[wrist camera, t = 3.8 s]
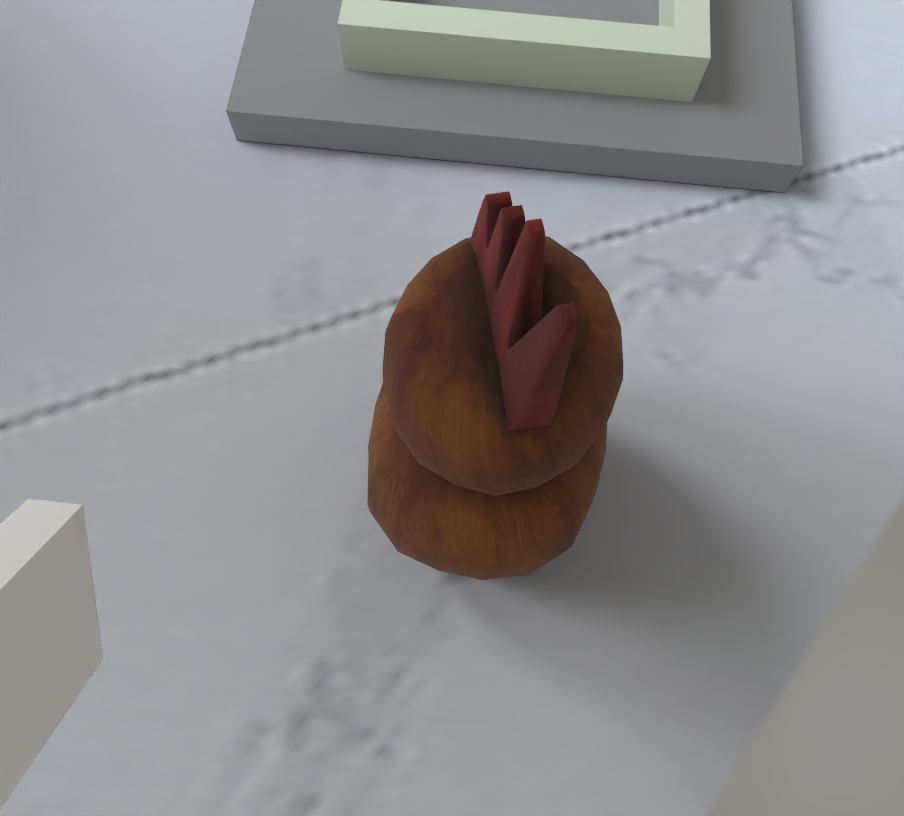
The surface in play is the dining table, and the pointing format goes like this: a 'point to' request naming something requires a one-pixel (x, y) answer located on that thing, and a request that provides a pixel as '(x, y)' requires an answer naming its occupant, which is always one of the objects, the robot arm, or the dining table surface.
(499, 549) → the wooden figurine
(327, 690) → the dining table surface
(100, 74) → the dining table surface
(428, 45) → the jig plate
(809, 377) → the dining table surface
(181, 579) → the dining table surface
